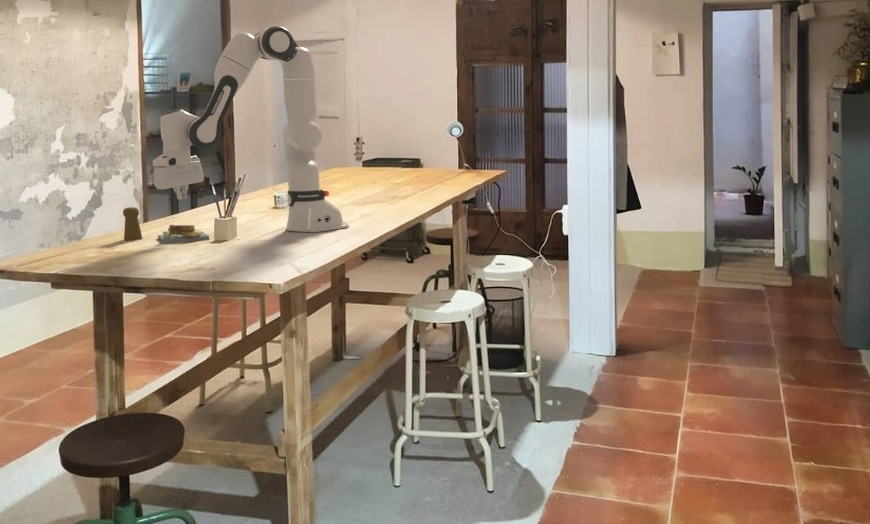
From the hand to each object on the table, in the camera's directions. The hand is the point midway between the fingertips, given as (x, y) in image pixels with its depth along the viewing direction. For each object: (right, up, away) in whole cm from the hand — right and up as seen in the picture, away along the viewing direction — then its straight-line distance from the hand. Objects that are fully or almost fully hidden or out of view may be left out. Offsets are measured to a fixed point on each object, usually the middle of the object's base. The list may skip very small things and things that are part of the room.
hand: (182, 198), depth 305 cm
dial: (+1, -13, -1) cm, 13 cm away
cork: (-18, -14, +2) cm, 23 cm away
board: (0, -14, +1) cm, 14 cm away
